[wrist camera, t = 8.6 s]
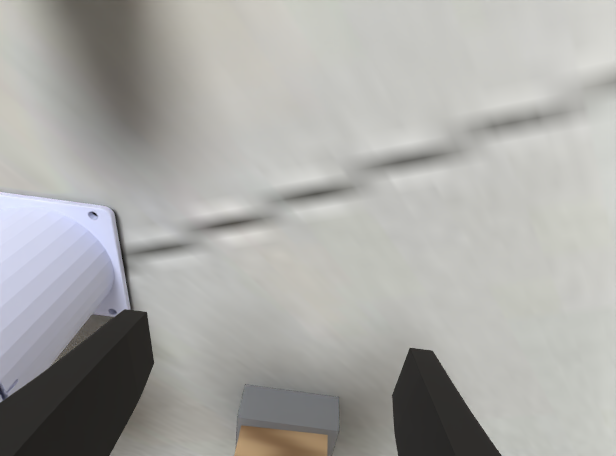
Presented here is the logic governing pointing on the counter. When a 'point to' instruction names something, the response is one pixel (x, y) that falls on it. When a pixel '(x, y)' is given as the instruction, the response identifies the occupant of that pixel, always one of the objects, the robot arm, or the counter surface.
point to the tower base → (289, 412)
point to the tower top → (279, 442)
